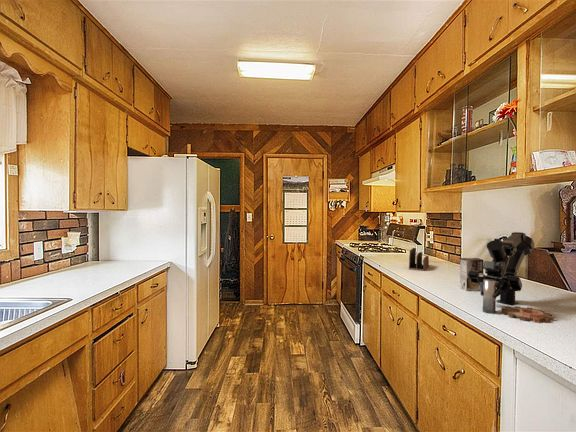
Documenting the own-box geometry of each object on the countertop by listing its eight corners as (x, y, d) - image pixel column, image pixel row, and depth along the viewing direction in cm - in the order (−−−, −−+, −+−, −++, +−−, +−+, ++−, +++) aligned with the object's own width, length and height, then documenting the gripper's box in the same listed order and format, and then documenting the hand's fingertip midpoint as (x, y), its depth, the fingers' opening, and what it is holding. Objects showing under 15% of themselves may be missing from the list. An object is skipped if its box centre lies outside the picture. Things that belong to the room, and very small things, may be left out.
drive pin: (486, 309, 138) (486, 278, 138) (497, 312, 134) (498, 280, 134) (480, 311, 136) (481, 279, 135) (491, 314, 132) (492, 281, 132)
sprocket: (513, 306, 142) (514, 300, 142) (561, 317, 128) (561, 310, 128) (493, 313, 133) (493, 306, 133) (541, 325, 119) (541, 318, 119)
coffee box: (476, 288, 176) (476, 257, 175) (483, 291, 169) (484, 259, 169) (459, 288, 176) (459, 257, 175) (466, 291, 169) (466, 259, 169)
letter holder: (408, 269, 229) (408, 249, 229) (414, 265, 246) (414, 246, 245) (424, 271, 224) (424, 250, 223) (428, 267, 241) (429, 247, 240)
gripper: (469, 251, 144) (457, 280, 137) (520, 256, 130) (509, 288, 123) (476, 267, 149) (465, 296, 143) (526, 273, 135) (516, 306, 128)
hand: (488, 296), depth 134 cm, fingers closed on drive pin, 4 cm apart
